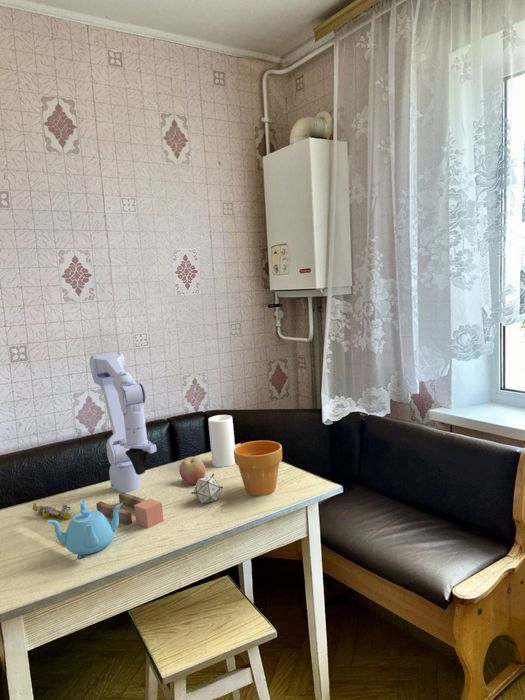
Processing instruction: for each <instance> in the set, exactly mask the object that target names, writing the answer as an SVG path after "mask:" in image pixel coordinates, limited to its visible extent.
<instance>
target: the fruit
mask: <svg viewBox="0 0 525 700" xmlns="http://www.w3.org/2000/svg"><path fill="white" fill-rule="evenodd" d="M205 475H206V466H205V464H204V463H203V461H202V460H201V459H200V458H198V457H195V456H189V457H185V458H184V459H183V460H182V461H181V463H180V465H179V476H180V478H181V479H182V480H183V481H184V482H185V483H186V484H188V485H196V482H197V479H196V477H197V478H198V479H200V478H205Z"/></svg>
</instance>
